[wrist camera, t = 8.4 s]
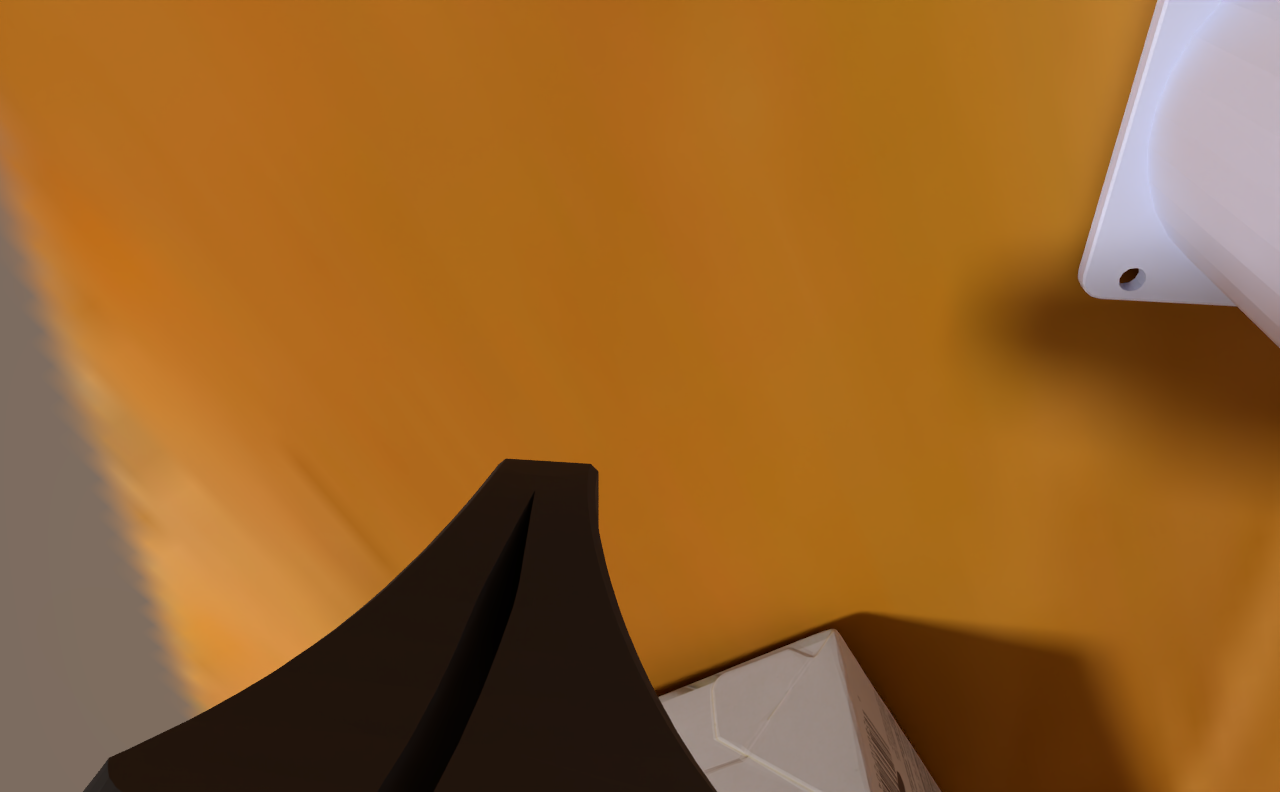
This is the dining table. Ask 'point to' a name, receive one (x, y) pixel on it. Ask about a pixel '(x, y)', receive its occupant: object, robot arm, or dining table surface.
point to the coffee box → (796, 725)
